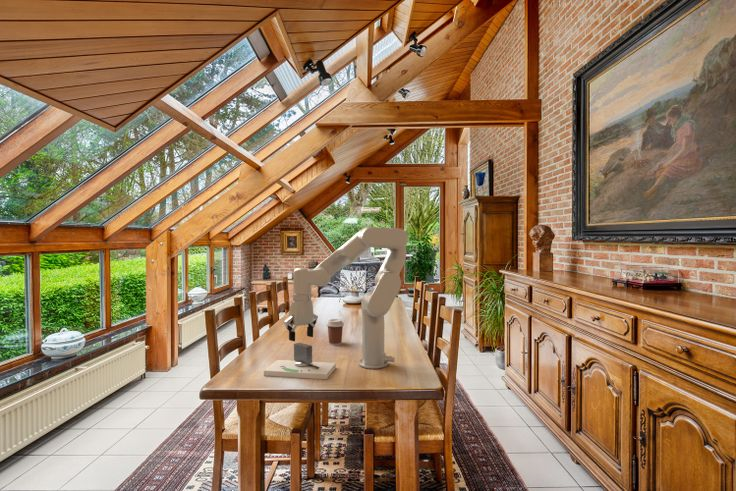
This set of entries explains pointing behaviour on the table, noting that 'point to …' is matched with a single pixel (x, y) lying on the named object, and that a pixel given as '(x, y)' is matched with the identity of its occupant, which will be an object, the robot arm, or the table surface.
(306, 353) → the grey boxy piece
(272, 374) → the dial board
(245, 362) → the table surface
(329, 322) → the coffee cup
